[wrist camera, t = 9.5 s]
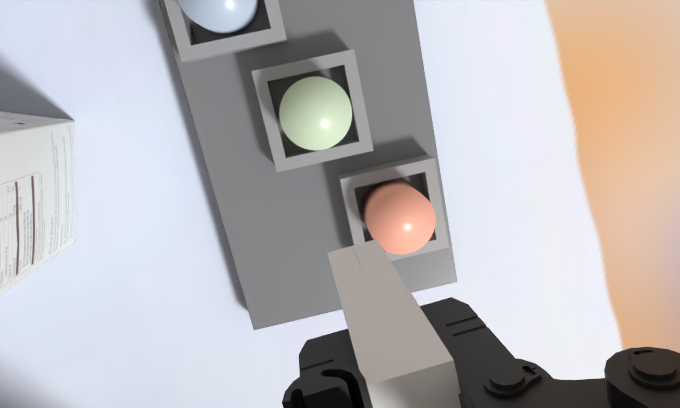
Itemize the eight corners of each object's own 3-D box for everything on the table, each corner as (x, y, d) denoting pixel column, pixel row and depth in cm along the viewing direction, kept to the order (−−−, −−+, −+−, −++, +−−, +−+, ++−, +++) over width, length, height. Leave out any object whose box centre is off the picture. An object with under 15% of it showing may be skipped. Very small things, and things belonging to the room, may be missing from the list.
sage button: (289, 149, 33) (288, 157, 29) (273, 85, 31) (271, 85, 28) (351, 135, 33) (358, 141, 29) (338, 70, 32) (344, 69, 28)
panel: (255, 317, 38) (251, 342, 34) (136, -100, 30) (115, -125, 26) (449, 271, 39) (465, 291, 35) (381, -148, 31) (393, -180, 27)
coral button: (368, 243, 35) (376, 261, 31) (356, 186, 34) (363, 198, 30) (426, 230, 35) (440, 246, 32) (416, 172, 34) (430, 182, 30)
